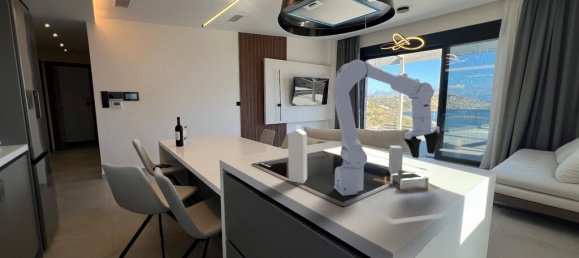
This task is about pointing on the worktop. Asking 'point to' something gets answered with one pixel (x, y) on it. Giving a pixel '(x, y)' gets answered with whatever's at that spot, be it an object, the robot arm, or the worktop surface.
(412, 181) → the c link
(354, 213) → the worktop surface
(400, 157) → the skincare box
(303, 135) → the milk
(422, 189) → the stand
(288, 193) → the worktop surface
